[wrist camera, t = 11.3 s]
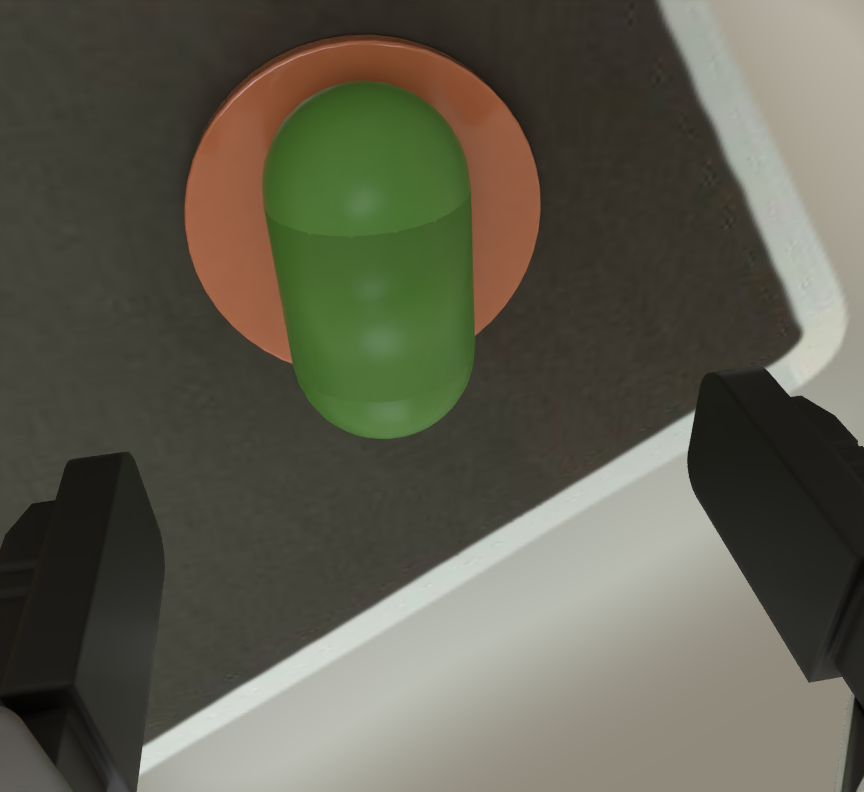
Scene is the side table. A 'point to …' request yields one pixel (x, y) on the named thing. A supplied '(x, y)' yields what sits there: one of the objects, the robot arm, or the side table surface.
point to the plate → (259, 121)
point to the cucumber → (373, 256)
